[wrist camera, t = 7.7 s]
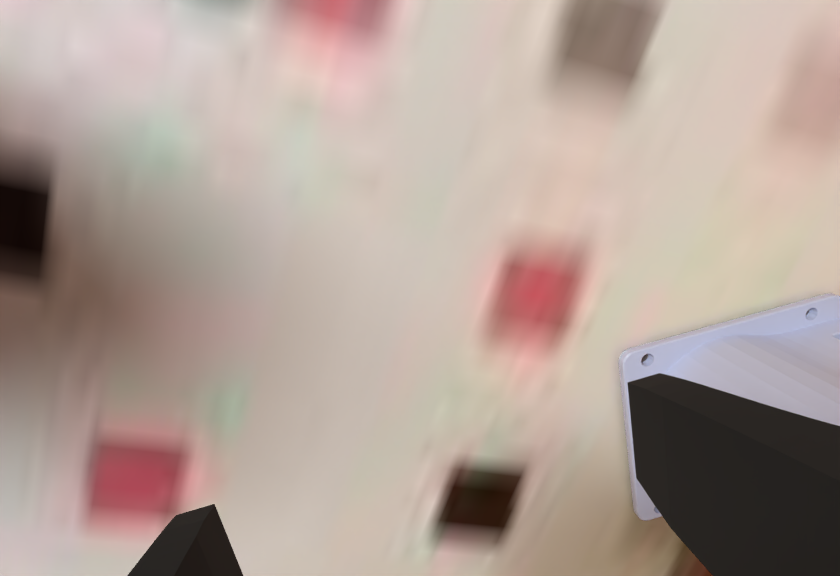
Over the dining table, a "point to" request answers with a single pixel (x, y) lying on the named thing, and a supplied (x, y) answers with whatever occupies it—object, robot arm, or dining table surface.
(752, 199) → the dining table surface
